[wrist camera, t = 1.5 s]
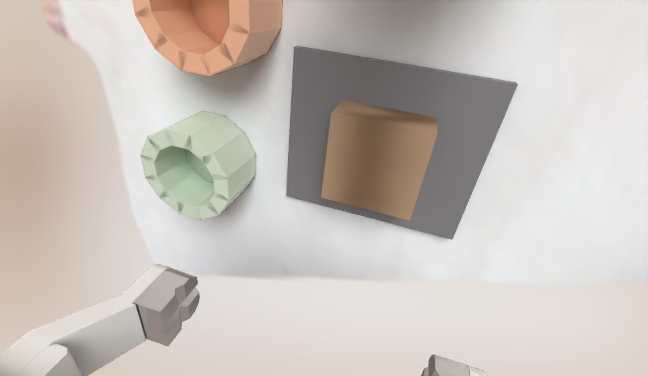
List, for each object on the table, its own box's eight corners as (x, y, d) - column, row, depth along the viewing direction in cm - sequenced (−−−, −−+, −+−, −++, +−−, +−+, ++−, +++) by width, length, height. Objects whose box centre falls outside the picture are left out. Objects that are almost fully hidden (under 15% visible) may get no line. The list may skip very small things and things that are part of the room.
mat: (515, 82, 19) (517, 84, 19) (452, 234, 26) (452, 239, 25) (297, 46, 22) (294, 47, 21) (289, 192, 28) (286, 195, 28)
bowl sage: (255, 122, 26) (225, 143, 22) (256, 200, 30) (230, 228, 26) (173, 104, 27) (132, 121, 24) (185, 180, 31) (151, 205, 28)
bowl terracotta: (284, -63, 19) (248, -78, 15) (280, 70, 23) (250, 84, 19) (173, -74, 20) (115, -90, 17) (188, 53, 25) (144, 63, 21)
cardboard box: (437, 117, 21) (437, 133, 18) (412, 198, 24) (410, 220, 22) (343, 99, 22) (331, 111, 20) (332, 178, 26) (321, 197, 23)
